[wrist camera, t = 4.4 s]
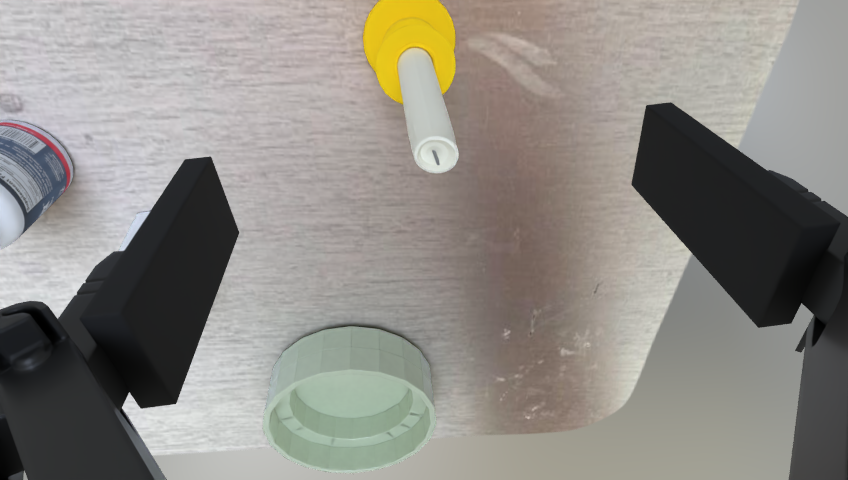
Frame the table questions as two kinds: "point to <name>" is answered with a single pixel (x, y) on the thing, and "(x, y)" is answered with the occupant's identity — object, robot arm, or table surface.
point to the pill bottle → (28, 176)
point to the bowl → (350, 401)
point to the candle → (416, 72)
